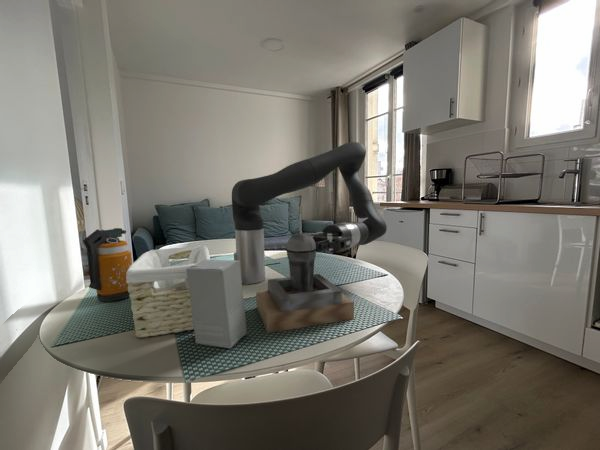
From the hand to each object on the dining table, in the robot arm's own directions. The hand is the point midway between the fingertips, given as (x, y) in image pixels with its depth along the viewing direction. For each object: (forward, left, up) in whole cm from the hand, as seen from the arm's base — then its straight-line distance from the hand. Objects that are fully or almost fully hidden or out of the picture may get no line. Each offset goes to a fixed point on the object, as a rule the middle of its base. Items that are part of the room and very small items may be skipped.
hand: (302, 245), depth 67 cm
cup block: (0, 0, -17) cm, 17 cm away
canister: (-55, +1, -17) cm, 58 cm away
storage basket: (-30, -6, -17) cm, 35 cm away
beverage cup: (0, 0, -13) cm, 13 cm away
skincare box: (-14, -15, -17) cm, 27 cm away
